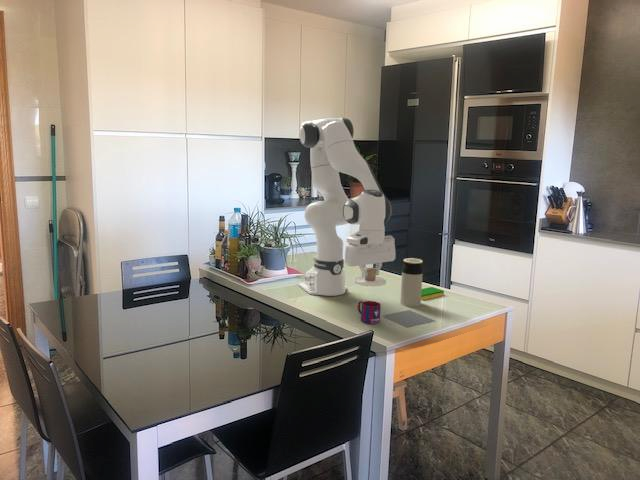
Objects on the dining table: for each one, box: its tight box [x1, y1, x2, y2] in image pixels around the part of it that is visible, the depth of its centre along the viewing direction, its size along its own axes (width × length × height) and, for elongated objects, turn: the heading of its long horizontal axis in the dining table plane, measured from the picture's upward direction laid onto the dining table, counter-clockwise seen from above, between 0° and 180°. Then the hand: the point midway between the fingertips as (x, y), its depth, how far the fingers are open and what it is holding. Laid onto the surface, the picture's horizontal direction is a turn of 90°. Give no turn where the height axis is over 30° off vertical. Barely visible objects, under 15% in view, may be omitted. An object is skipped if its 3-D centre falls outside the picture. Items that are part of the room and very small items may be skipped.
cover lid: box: [354, 267, 387, 287], centre depth 183 cm, size 11×11×5 cm
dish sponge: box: [421, 286, 445, 301], centre depth 219 cm, size 7×14×2 cm, turn 126°
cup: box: [357, 300, 381, 325], centre depth 185 cm, size 7×10×7 cm
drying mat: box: [381, 309, 436, 329], centre depth 189 cm, size 14×14×1 cm
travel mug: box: [399, 257, 424, 308], centre depth 205 cm, size 8×8×18 cm
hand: (370, 275), depth 183 cm, fingers closed on cover lid, 4 cm apart
